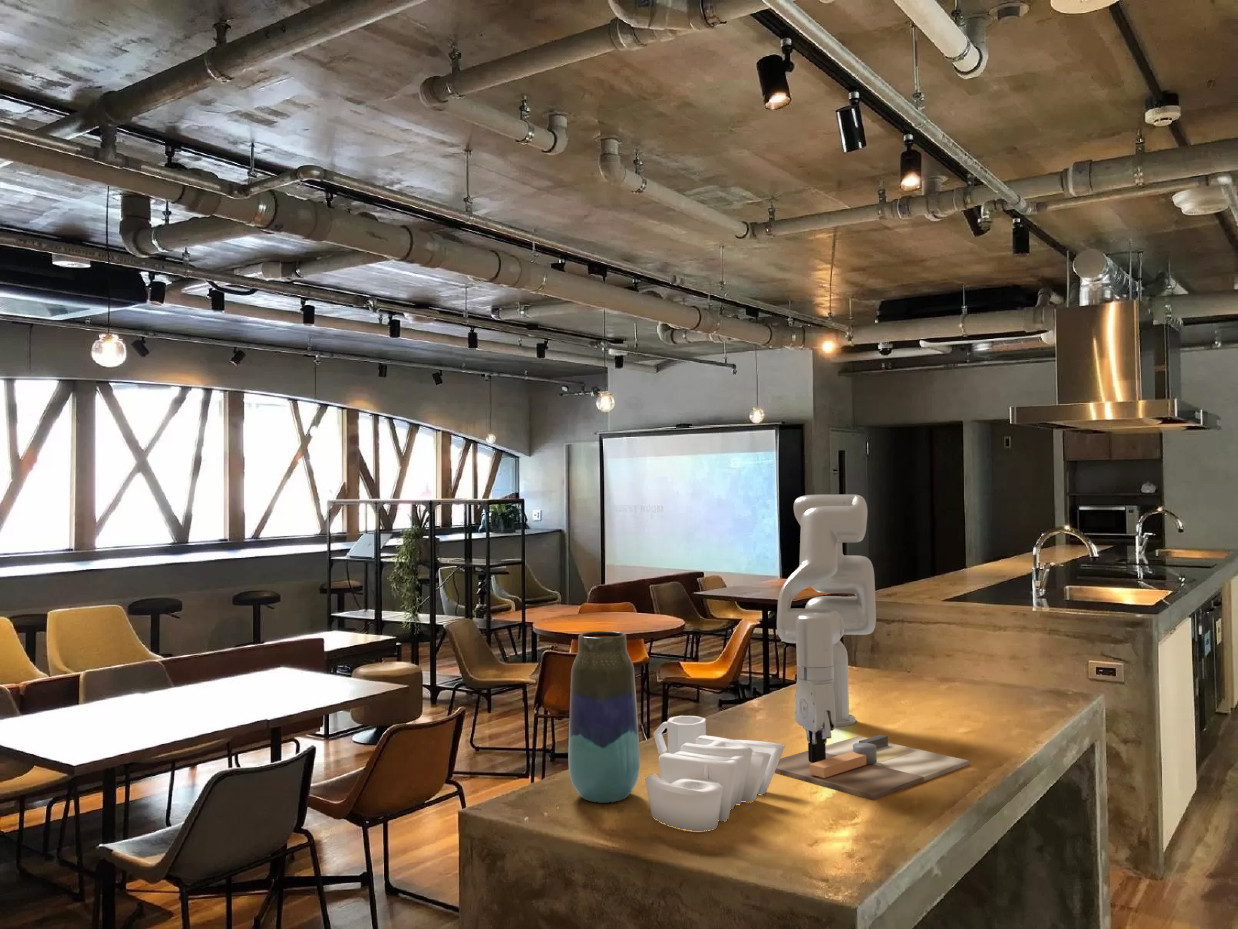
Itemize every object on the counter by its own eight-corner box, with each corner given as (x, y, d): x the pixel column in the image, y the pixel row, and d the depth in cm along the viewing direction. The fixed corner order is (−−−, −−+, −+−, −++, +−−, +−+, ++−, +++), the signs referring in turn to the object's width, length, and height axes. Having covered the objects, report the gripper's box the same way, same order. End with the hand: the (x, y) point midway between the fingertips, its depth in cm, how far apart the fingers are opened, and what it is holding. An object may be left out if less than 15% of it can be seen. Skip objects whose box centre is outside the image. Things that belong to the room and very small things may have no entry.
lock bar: (862, 756, 204) (861, 741, 204) (881, 761, 200) (881, 745, 200) (807, 773, 192) (807, 757, 192) (826, 778, 188) (826, 762, 188)
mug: (713, 764, 204) (712, 718, 205) (695, 774, 197) (694, 726, 197) (664, 756, 211) (663, 712, 211) (645, 766, 203) (644, 720, 204)
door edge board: (761, 769, 200) (760, 754, 200) (858, 740, 222) (858, 727, 222) (873, 800, 179) (872, 784, 179) (969, 765, 200) (968, 751, 200)
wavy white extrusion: (720, 777, 195) (719, 725, 196) (794, 790, 186) (793, 735, 186) (624, 827, 167) (623, 766, 167) (706, 845, 157) (705, 781, 158)
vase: (615, 813, 174) (613, 641, 175) (554, 801, 181) (552, 636, 182) (653, 792, 185) (650, 631, 186) (594, 782, 193) (592, 627, 194)
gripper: (783, 668, 204) (785, 754, 204) (815, 681, 190) (817, 773, 189) (814, 666, 206) (816, 751, 206) (849, 678, 192) (851, 770, 191)
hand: (817, 761), depth 198 cm, fingers closed
